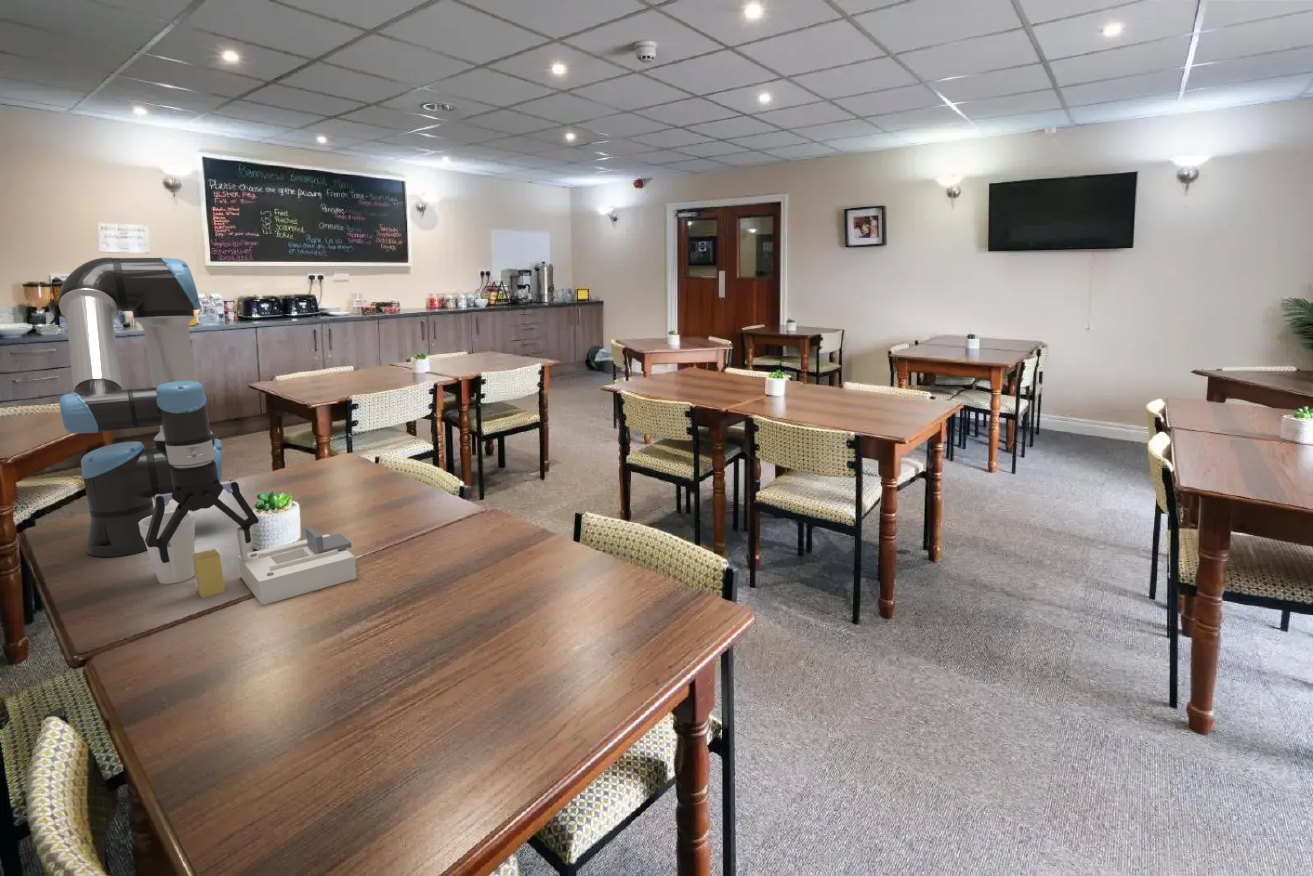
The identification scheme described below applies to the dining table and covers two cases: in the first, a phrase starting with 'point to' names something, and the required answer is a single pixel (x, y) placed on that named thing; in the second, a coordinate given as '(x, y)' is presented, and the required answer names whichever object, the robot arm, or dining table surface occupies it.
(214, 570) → the plug
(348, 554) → the socket
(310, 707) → the dining table surface
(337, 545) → the shutter
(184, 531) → the foam cup
